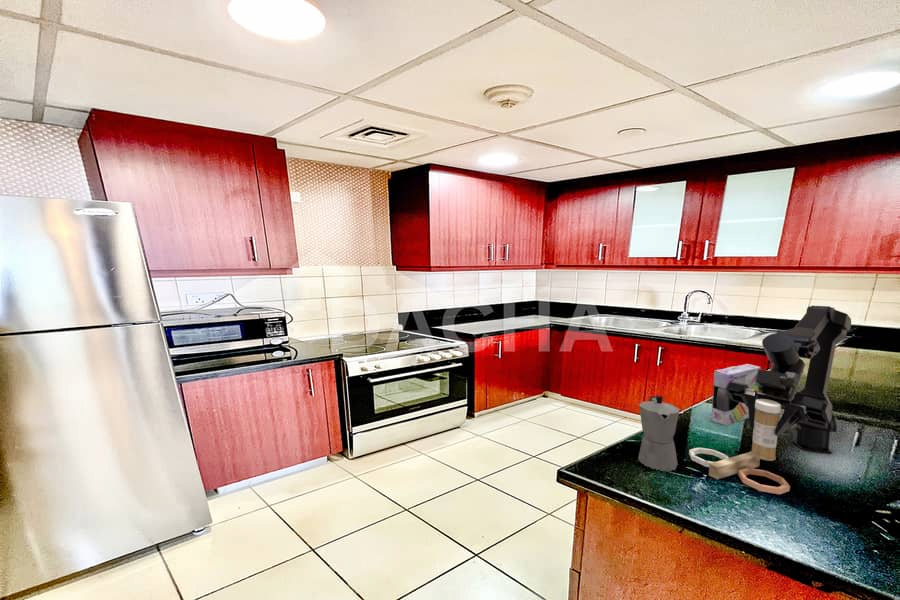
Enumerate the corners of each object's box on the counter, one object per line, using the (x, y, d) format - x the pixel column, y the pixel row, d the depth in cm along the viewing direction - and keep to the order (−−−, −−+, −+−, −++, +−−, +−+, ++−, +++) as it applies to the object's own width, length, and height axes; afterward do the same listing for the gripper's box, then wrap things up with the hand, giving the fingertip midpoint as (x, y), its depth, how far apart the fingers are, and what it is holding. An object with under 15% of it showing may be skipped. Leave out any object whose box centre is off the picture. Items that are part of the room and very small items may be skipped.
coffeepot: (685, 478, 91) (687, 406, 89) (642, 473, 94) (644, 402, 92) (669, 449, 105) (671, 387, 104) (632, 445, 108) (633, 384, 107)
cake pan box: (724, 427, 120) (726, 373, 119) (708, 421, 124) (710, 369, 123) (759, 417, 127) (762, 366, 126) (742, 412, 132) (745, 363, 131)
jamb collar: (724, 455, 102) (724, 451, 102) (734, 471, 94) (734, 466, 94) (687, 449, 105) (687, 445, 105) (693, 464, 97) (693, 460, 97)
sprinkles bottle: (774, 455, 89) (779, 400, 87) (776, 463, 85) (782, 407, 84) (749, 449, 92) (754, 396, 90) (751, 457, 88) (756, 402, 86)
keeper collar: (778, 477, 91) (778, 472, 91) (794, 497, 83) (795, 492, 83) (735, 470, 94) (735, 465, 94) (746, 488, 86) (746, 483, 86)
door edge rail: (750, 462, 98) (751, 451, 98) (759, 466, 96) (759, 455, 96) (708, 475, 92) (709, 463, 92) (717, 479, 90) (717, 467, 90)
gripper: (730, 350, 96) (707, 400, 91) (830, 365, 80) (810, 427, 76) (742, 375, 101) (721, 424, 96) (839, 393, 85) (820, 453, 80)
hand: (763, 431), depth 87 cm, fingers closed on sprinkles bottle, 4 cm apart
